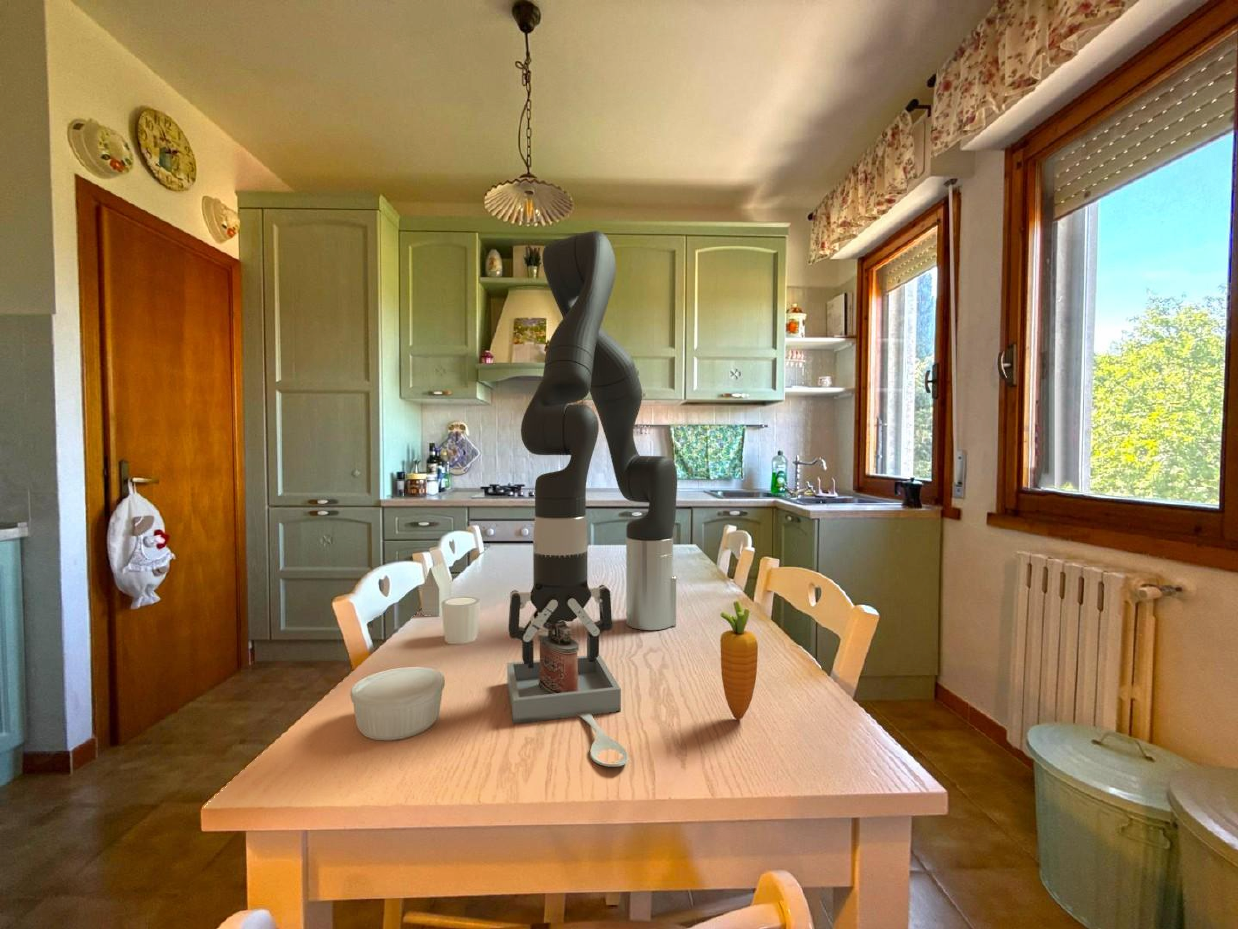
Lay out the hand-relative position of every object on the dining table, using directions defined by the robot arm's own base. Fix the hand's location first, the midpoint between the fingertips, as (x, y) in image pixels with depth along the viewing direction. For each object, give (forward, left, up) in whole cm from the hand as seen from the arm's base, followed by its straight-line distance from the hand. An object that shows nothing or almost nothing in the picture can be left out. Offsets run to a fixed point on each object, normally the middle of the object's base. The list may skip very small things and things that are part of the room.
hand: (560, 663), depth 80 cm
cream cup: (+14, -28, -5) cm, 32 cm away
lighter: (0, 0, -4) cm, 4 cm away
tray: (0, 0, -5) cm, 5 cm away
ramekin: (+21, +2, -5) cm, 22 cm away
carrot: (-21, +12, -5) cm, 25 cm away
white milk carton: (+19, -48, -5) cm, 52 cm away
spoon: (-2, +10, -5) cm, 12 cm away
